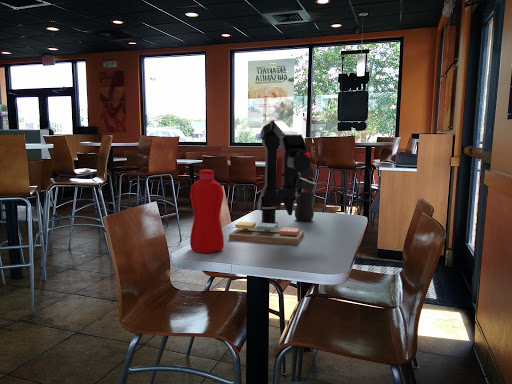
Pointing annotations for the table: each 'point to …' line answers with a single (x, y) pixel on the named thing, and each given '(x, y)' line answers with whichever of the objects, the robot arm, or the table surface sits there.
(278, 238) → the button board
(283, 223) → the table surface
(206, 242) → the red plastic bottle
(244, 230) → the tile mustard
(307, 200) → the cola bottle
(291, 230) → the tile brick
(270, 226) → the tile teal
